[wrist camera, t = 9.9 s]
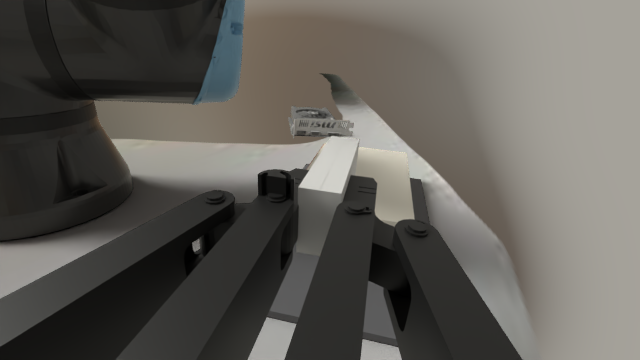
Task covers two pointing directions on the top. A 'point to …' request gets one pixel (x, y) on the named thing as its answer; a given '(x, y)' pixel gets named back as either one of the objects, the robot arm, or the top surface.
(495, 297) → the top surface
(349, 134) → the graphics card
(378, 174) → the book
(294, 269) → the desk pad
